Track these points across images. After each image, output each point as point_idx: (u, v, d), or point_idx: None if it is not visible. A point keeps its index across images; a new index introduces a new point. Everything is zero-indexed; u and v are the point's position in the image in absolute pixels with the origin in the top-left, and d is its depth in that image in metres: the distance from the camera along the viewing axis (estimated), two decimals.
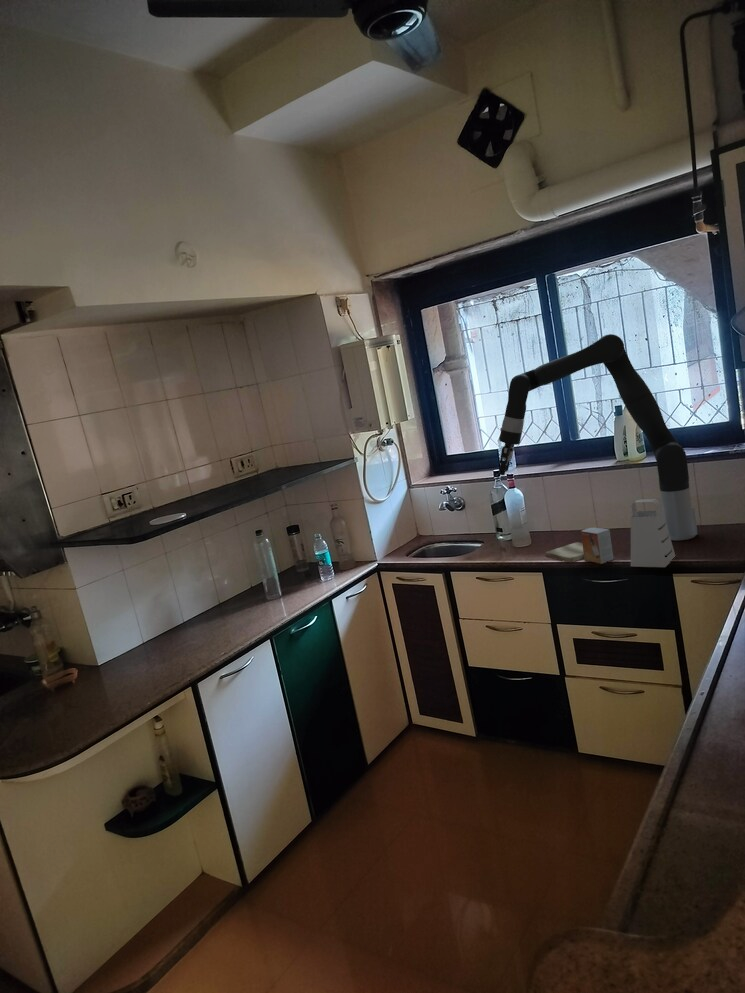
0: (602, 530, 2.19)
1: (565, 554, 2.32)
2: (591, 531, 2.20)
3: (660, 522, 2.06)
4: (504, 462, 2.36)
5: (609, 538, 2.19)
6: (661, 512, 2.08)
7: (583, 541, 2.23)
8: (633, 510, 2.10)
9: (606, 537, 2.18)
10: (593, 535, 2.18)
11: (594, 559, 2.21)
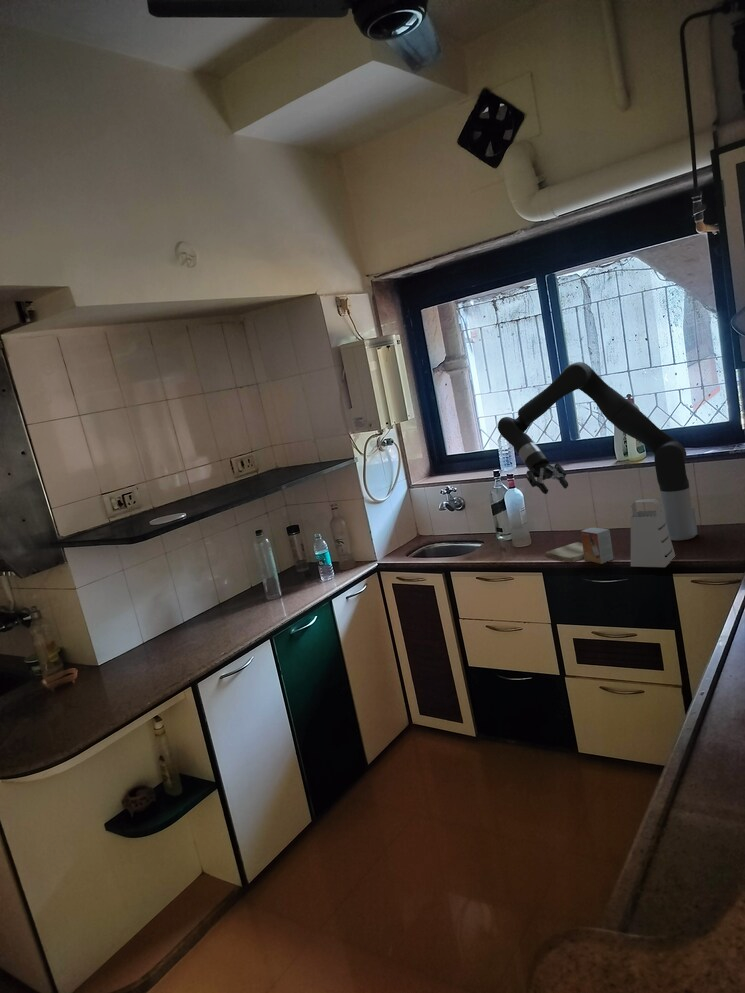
0: (602, 530, 2.19)
1: (565, 554, 2.32)
2: (591, 531, 2.20)
3: (660, 522, 2.06)
4: (533, 482, 2.36)
5: (609, 538, 2.19)
6: (661, 512, 2.08)
7: (583, 541, 2.23)
8: (633, 510, 2.10)
9: (606, 537, 2.18)
10: (593, 535, 2.18)
11: (594, 559, 2.21)
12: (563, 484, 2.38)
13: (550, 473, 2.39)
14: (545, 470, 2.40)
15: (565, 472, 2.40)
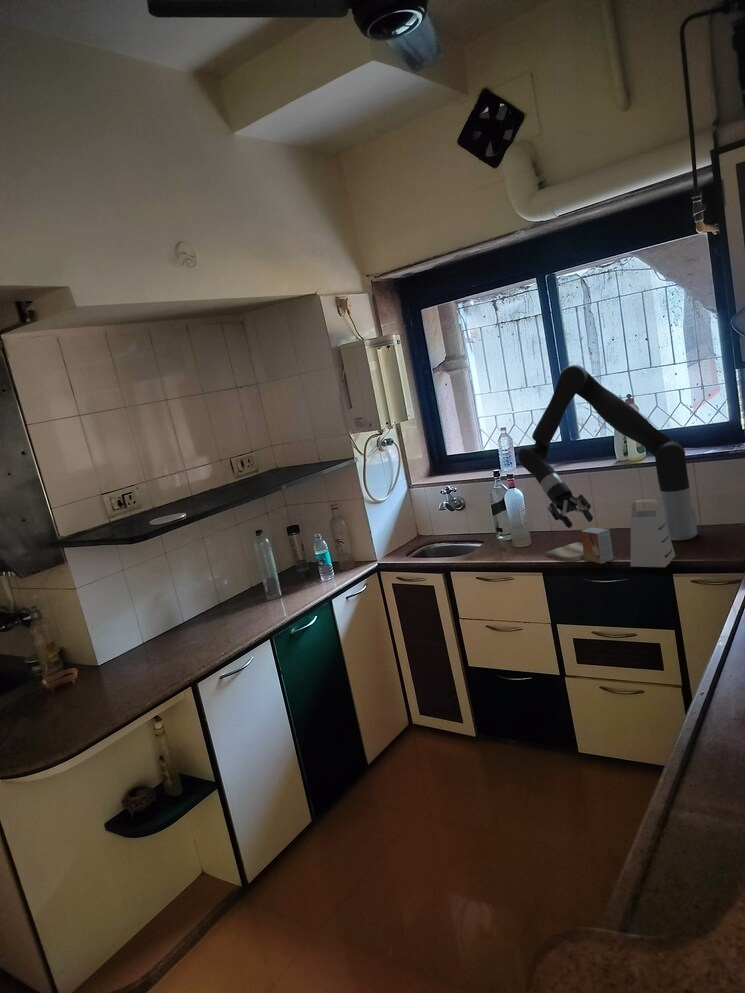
0: (602, 530, 2.19)
1: (565, 554, 2.32)
2: (591, 531, 2.20)
3: (660, 522, 2.06)
4: (556, 516, 2.27)
5: (609, 538, 2.19)
6: (661, 512, 2.08)
7: (583, 541, 2.23)
8: (633, 510, 2.10)
9: (606, 537, 2.18)
10: (593, 535, 2.18)
11: (594, 559, 2.21)
12: (587, 517, 2.29)
13: (574, 506, 2.31)
14: (568, 502, 2.31)
15: (589, 504, 2.31)
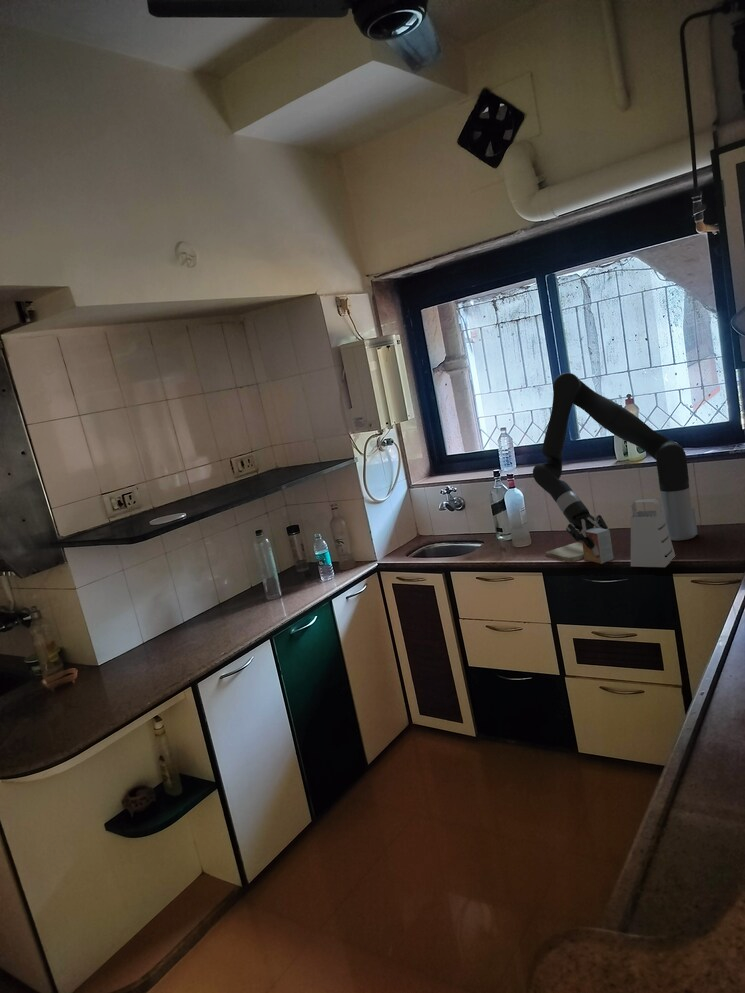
0: (602, 530, 2.19)
1: (565, 554, 2.32)
2: (591, 531, 2.20)
3: (660, 522, 2.06)
4: (577, 536, 2.21)
5: (609, 538, 2.19)
6: (661, 512, 2.08)
7: None
8: (633, 510, 2.10)
9: (606, 537, 2.18)
10: (593, 535, 2.18)
11: (594, 559, 2.21)
12: None
13: (590, 525, 2.24)
14: (586, 522, 2.25)
15: (606, 526, 2.24)
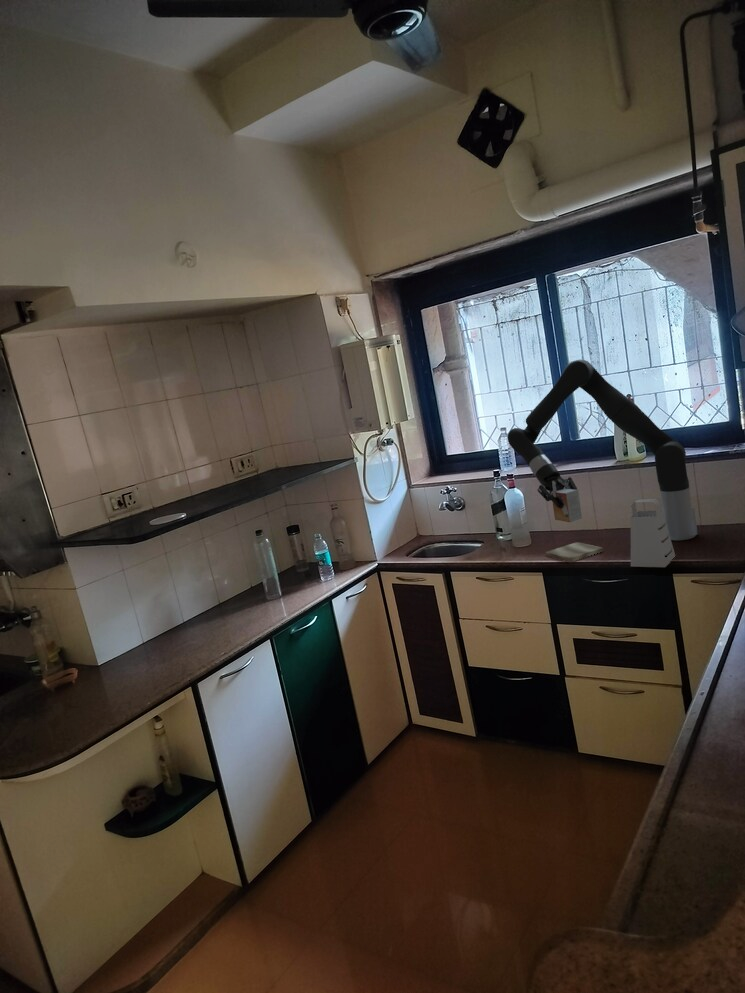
0: (571, 490, 2.29)
1: (565, 554, 2.32)
2: (561, 491, 2.31)
3: (660, 522, 2.06)
4: (547, 497, 2.31)
5: (578, 498, 2.29)
6: (661, 512, 2.08)
7: None
8: (633, 510, 2.10)
9: (575, 497, 2.29)
10: (562, 495, 2.28)
11: (563, 518, 2.31)
12: None
13: (560, 486, 2.34)
14: (556, 483, 2.35)
15: (576, 487, 2.35)
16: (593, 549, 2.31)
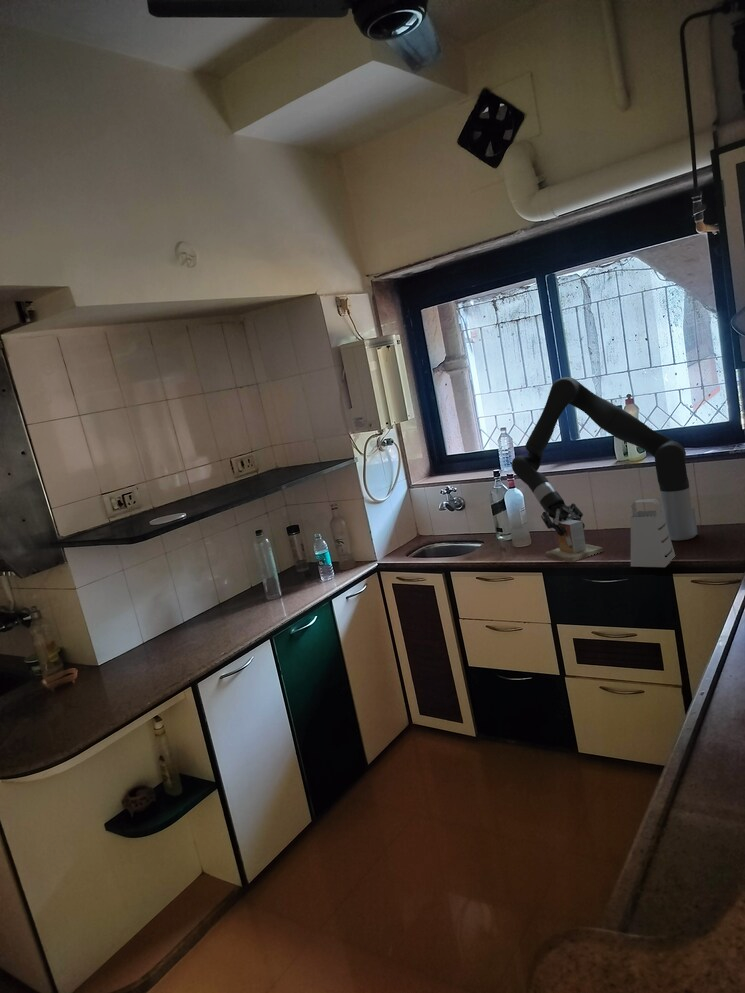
0: (575, 521, 2.31)
1: (565, 554, 2.32)
2: (565, 522, 2.32)
3: (660, 522, 2.06)
4: (549, 524, 2.33)
5: (582, 529, 2.31)
6: (661, 512, 2.08)
7: None
8: (633, 510, 2.10)
9: (579, 528, 2.30)
10: (566, 526, 2.30)
11: (567, 549, 2.33)
12: None
13: (566, 514, 2.36)
14: (561, 511, 2.36)
15: (581, 513, 2.37)
16: (593, 549, 2.31)
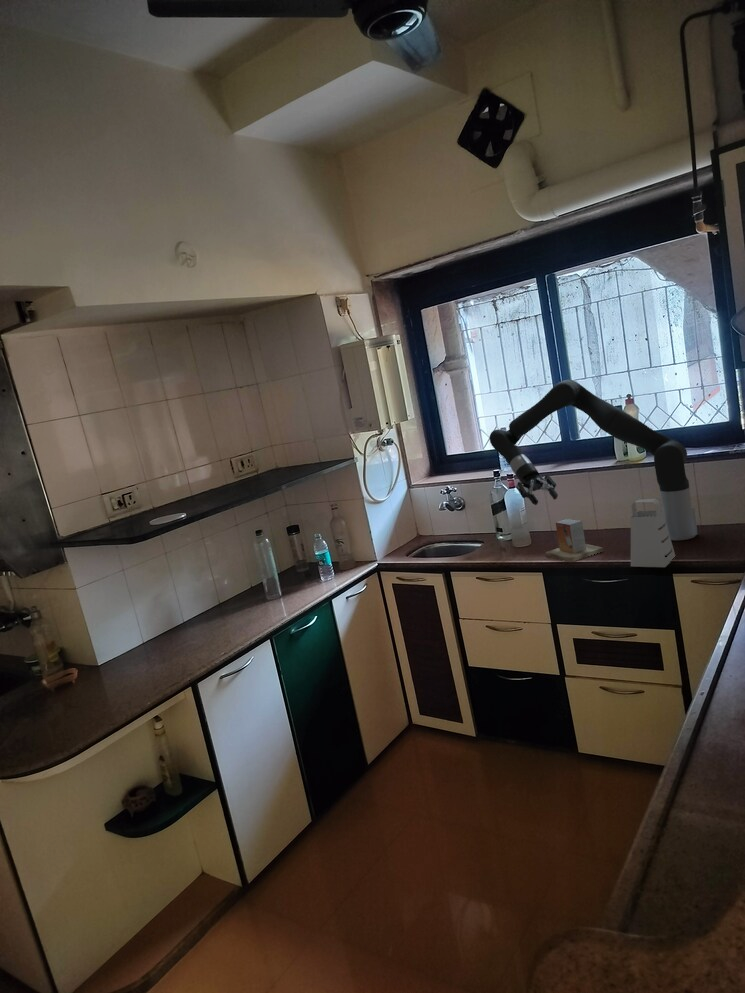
0: (575, 521, 2.31)
1: (565, 554, 2.32)
2: (565, 522, 2.32)
3: (660, 522, 2.06)
4: (523, 494, 2.43)
5: (582, 529, 2.31)
6: (661, 512, 2.08)
7: (558, 532, 2.36)
8: (633, 510, 2.10)
9: (579, 528, 2.30)
10: (566, 526, 2.30)
11: (567, 549, 2.33)
12: (553, 495, 2.45)
13: (540, 484, 2.46)
14: (535, 481, 2.47)
15: (555, 483, 2.47)
16: (593, 549, 2.31)
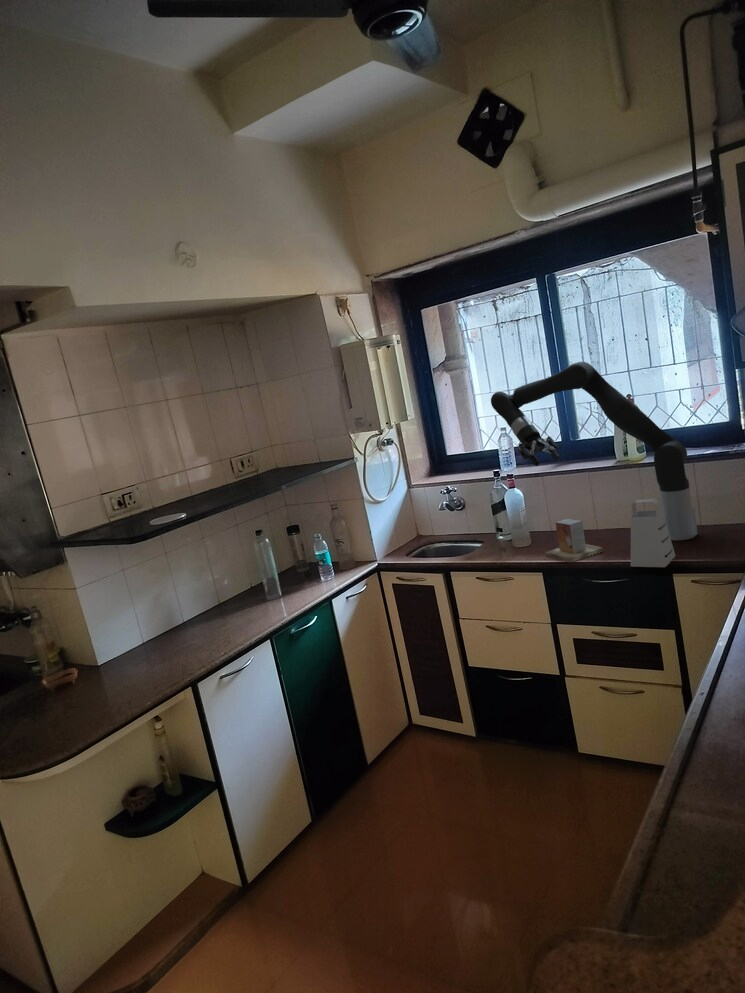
0: (575, 521, 2.31)
1: (565, 554, 2.32)
2: (565, 522, 2.32)
3: (660, 522, 2.06)
4: (524, 455, 2.40)
5: (582, 529, 2.31)
6: (661, 512, 2.08)
7: (558, 532, 2.36)
8: (633, 510, 2.10)
9: (579, 528, 2.30)
10: (566, 526, 2.30)
11: (567, 549, 2.33)
12: (554, 457, 2.42)
13: (542, 446, 2.43)
14: (537, 443, 2.44)
15: (556, 445, 2.44)
16: (593, 549, 2.31)
